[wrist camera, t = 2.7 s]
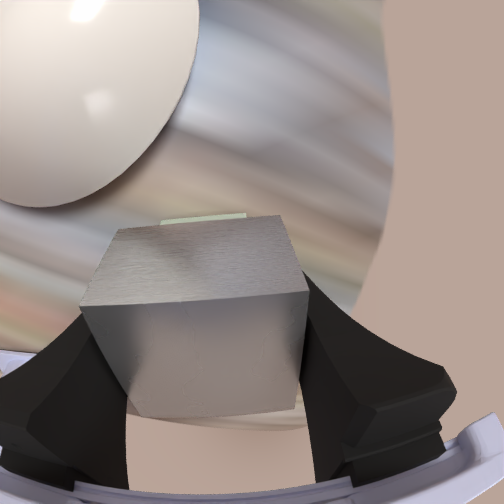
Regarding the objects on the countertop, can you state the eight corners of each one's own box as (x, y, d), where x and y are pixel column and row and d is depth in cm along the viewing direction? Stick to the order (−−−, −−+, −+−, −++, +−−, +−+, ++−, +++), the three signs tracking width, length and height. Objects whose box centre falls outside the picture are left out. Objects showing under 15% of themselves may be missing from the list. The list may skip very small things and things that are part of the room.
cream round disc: (211, 177, 12) (210, 185, 11) (-24, 216, 11) (-34, 224, 10) (199, -104, 5) (197, -115, 4) (-47, -4, 4) (-58, -5, 3)
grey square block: (277, 331, 13) (294, 408, 10) (152, 340, 13) (141, 417, 10) (280, 215, 10) (309, 290, 7) (118, 229, 10) (79, 306, 7)
